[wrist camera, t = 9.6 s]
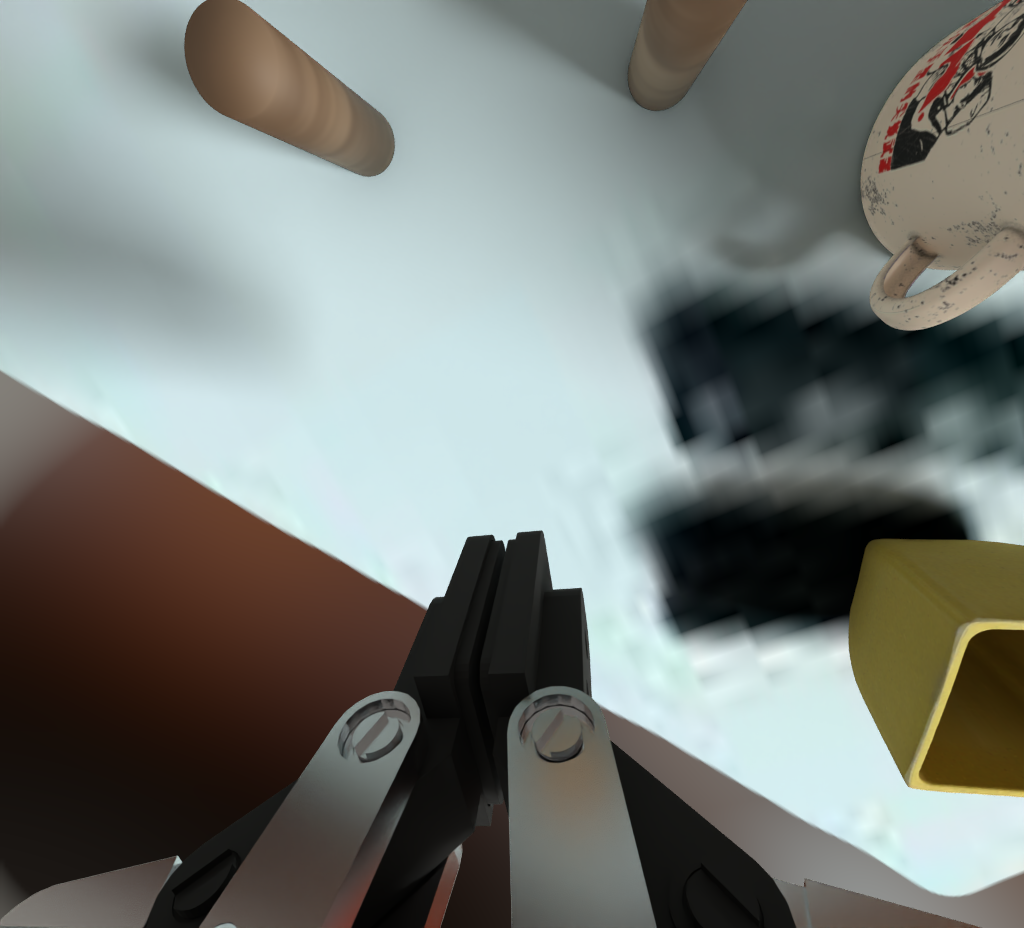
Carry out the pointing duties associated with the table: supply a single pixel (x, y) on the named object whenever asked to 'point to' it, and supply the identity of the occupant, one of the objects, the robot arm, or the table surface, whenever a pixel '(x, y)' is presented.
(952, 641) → the flower pot
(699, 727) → the table surface
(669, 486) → the table surface
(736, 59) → the table surface
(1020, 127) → the teacup with lid
